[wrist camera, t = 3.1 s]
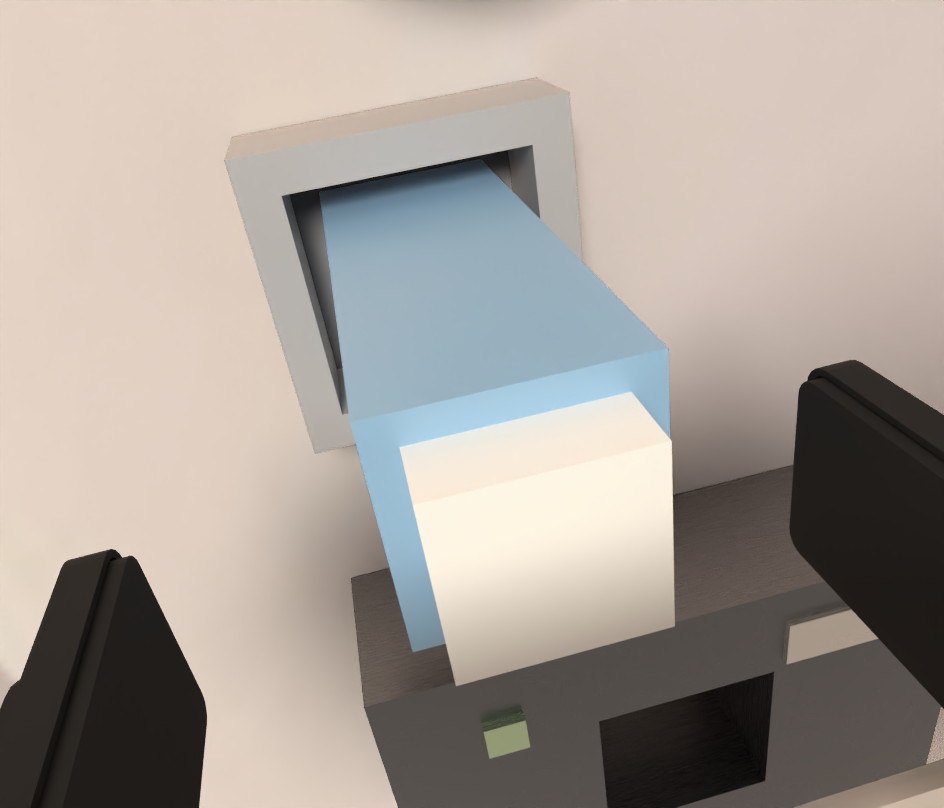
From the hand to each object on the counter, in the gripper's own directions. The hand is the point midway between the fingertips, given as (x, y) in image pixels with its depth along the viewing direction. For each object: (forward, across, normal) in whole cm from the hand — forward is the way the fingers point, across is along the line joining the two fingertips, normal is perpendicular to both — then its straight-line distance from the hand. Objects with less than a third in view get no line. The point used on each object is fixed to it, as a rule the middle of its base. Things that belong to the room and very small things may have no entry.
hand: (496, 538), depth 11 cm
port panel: (+11, -6, +15) cm, 20 cm away
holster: (+11, -1, -1) cm, 11 cm away
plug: (+11, -1, -1) cm, 11 cm away
